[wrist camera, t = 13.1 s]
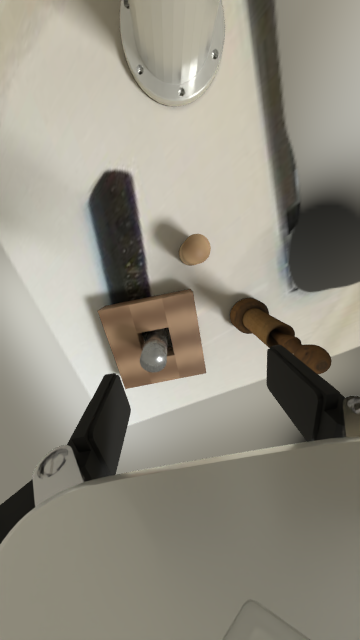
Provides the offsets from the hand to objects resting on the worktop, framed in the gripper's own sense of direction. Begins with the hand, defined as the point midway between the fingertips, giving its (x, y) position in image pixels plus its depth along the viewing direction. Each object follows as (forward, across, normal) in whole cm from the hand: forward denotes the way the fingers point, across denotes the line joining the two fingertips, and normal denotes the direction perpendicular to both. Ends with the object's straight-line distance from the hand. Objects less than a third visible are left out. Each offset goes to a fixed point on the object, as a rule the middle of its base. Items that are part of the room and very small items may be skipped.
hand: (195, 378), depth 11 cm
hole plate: (+23, +5, +7) cm, 24 cm away
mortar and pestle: (+23, -13, +6) cm, 27 cm away
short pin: (+23, -3, -7) cm, 24 cm away
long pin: (+23, +5, +7) cm, 24 cm away
